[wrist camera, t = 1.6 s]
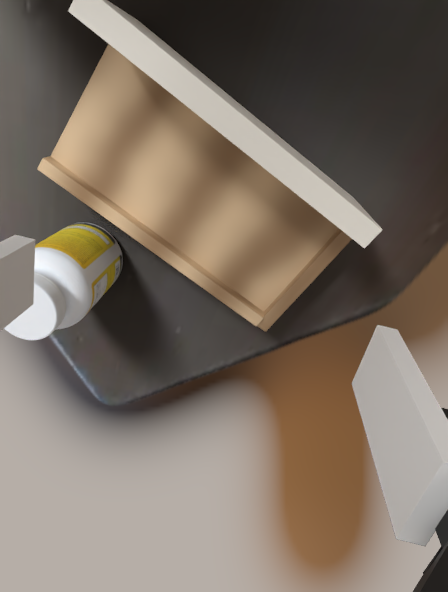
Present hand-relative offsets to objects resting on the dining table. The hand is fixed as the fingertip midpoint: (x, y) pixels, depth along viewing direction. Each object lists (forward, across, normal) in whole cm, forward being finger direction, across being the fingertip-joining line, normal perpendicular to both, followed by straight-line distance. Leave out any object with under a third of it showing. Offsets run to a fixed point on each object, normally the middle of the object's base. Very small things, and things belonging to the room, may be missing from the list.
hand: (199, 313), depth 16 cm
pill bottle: (+21, -12, -8) cm, 26 cm away
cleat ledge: (+21, -3, +1) cm, 21 cm away
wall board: (+21, -1, +6) cm, 22 cm away
